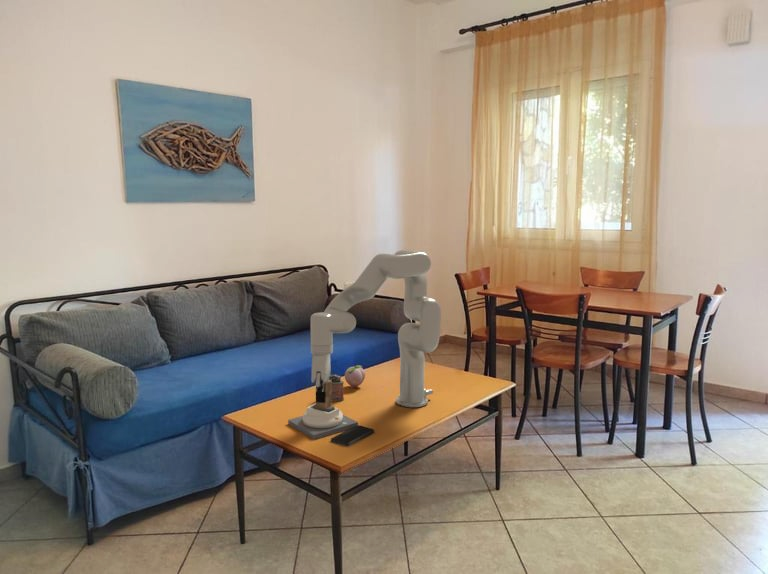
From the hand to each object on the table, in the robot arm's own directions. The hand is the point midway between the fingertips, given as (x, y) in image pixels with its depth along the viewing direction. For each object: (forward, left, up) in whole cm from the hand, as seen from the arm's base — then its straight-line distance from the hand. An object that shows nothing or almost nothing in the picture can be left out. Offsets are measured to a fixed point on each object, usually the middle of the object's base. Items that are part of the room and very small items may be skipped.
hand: (322, 399), depth 191 cm
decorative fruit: (-33, -27, -10) cm, 44 cm away
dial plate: (0, 0, -9) cm, 9 cm away
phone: (-3, +15, -10) cm, 18 cm away
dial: (0, 0, -8) cm, 8 cm away
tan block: (0, 0, -6) cm, 6 cm away
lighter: (-18, -20, -10) cm, 29 cm away
